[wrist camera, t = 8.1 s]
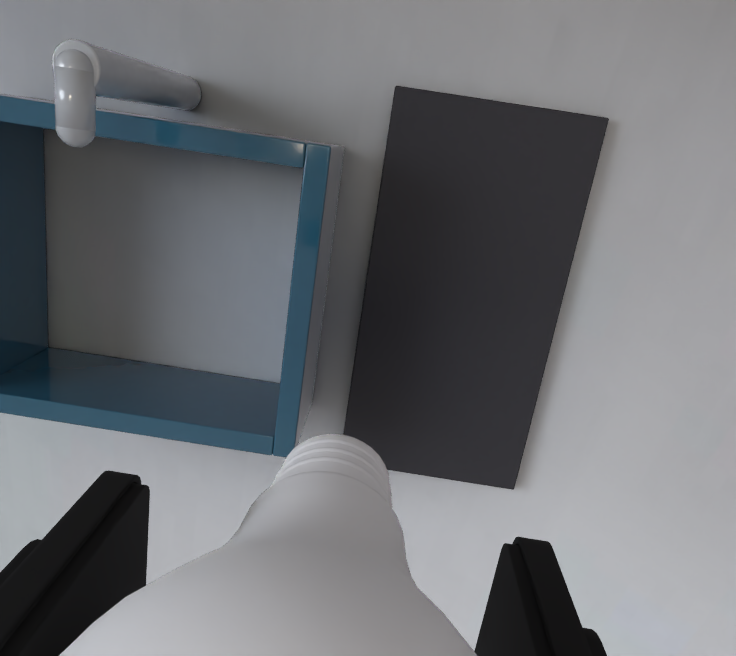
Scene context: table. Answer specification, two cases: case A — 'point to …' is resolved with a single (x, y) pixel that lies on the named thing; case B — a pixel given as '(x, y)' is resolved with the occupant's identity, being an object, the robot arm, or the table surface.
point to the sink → (127, 377)
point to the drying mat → (467, 280)
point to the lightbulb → (292, 576)
